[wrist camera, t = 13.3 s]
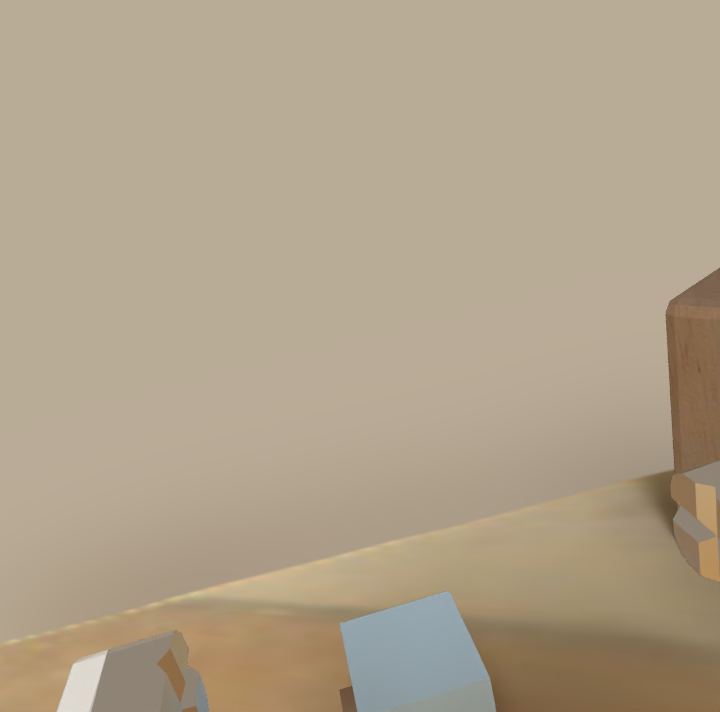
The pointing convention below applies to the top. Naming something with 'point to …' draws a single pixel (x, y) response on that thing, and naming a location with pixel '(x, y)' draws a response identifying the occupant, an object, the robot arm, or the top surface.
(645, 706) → the top surface
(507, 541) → the top surface
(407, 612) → the post
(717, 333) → the block
